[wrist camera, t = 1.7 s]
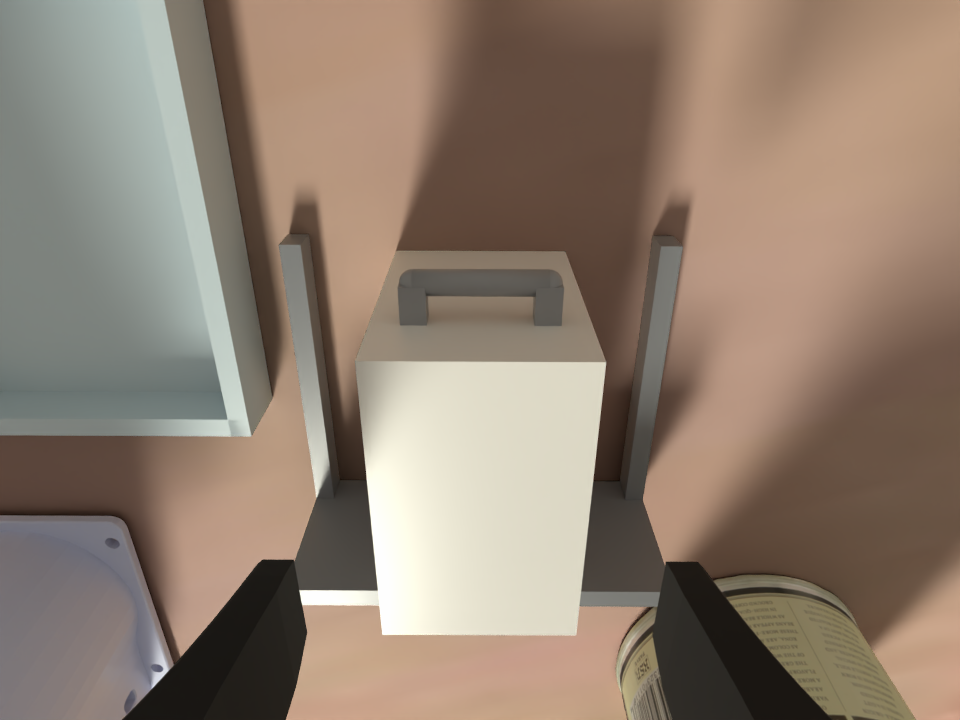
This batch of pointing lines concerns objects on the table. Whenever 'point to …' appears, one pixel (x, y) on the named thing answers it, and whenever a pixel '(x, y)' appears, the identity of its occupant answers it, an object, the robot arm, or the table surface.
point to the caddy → (480, 441)
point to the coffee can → (779, 651)
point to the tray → (120, 228)
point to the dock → (345, 503)
